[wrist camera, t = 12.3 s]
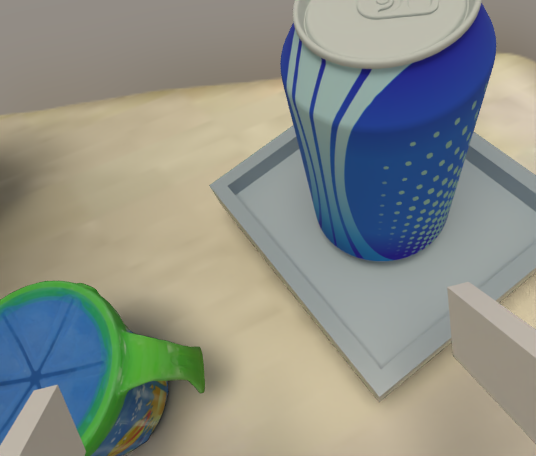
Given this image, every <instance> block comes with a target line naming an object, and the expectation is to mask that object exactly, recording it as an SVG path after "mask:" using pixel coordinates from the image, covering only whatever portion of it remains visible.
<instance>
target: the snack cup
mask: <svg viewBox="0 0 536 456" xmlns="http://www.w3.org/2000/svg"><path fill="white" fill-rule="evenodd" d="M169 380H170V381H172V380H188V381H189V382H190V383H191V384H192V385H193V386H194V387H195V388H196V389H197V390H198V392H200V393H204V388H205V379H204V364H203V355H202V351H201V349H200V347H189V346H183V345H179V344H175V343H172V342H169V341H166V340H159V339H156V338H151V337H147V336H143V335H138V334H134V333H133V332H131V331H130V330H129V329H128V328H127V326H126V325H125V324H124V323H123V321H122V320H121V318H120V316H119V314H118V313H117V311H116V310H115V309H114V308H113V307H112V306H111V304H110V303H108V302H107V301H106V300H105V299H104V298H103V297H101V296H100V294H99V293H98V291H97V290H96V289H95V288H93V287H91V286H88V285H86V284H83V283H77V284H76V283H71V282H65V281H44V282H39V283H36V284H32V285H29V286H26V287H23V288H21V289H19V290H17V291H15V292H12V293H10V294H9V295H7V296H5V297H4V298H2V299H1V300H0V445H1V443H2V442H3V440H4V439H5V437H6V435H7V434H8V432H9V430H10V429H11V427H12V425H13V424H14V422H15V420H16V419H17V417H18V416H19V414H20V412H21V411H22V409H23V407H24V406H25V404H26V402H27V401H28V399H29V398H30V396H31V394H32V393H33V391H34V390H38V389H42V388H46V387H50V386H54V385H58V386H59V389H60V391H61V393H62V396H63V398H64V400H65V403H66V405H67V407H68V410H69V412H70V414H71V417H72V419H73V422H74V424H75V426H76V429H77V431H78V433H79V436H80V438H81V440H82V443H83V445H84V447H85V450H86V453H85V456H121V455H124V454H127V453H129V452H131V451H132V450H134V449H136V448H137V447H138V446H140V445H141V444H143V443H145V442H146V441H147V440H148V439H149V436H150V434H151V433H152V432H153V430H154V429H155V427H156V425H157V424H158V422H159V420H160V417H161V415H162V413H163V410H164V406H165V403H166V398H167V396H168V392H169V391H168V382H167V381H169Z"/></svg>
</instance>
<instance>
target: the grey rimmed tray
mask: <svg viewBox="0 0 536 456" xmlns="http://www.w3.org/2000/svg"><path fill="white" fill-rule="evenodd" d="M209 186H210V187H211V189H212V191H213V192H214V194H215V195H216V197H217V199H218V200H219V202H220V204H221V205H222V206H223V207H224V209H225V210H226V211H227V212H228V214H229V215H230V216H231V217H232V219H233V220H234V221H235V222H236V224H237V225H238V226H239V227H240V229H241V230H242V231H243V232H244V234H245V235H246V236H247V237H248V239H249V240H250V241H251V242H252V244H253V245H254V246H255V247H256V249H257V250H258V251H259V252H260V254H261V255H262V256H263V257H264V259H265V260H266V261H267V262H268V264H269V265H270V266H271V268H272V269H273V270H274V271H275V273H276V274H277V275H278V276H279V278H280V279H281V280H282V281H283V283H284V284H285V285H286V286H287V288H288V289H289V290H290V291H291V293H292V294H293V295H294V296H295V298H296V299H297V300H298V301H299V303H300V304H301V305H302V306H303V308H304V309H305V310H306V311H307V313H308V314H309V315H310V316H311V318H312V319H313V320H314V321H315V323H316V324H317V325H318V326H319V328H320V329H321V330H322V331H323V333H324V334H325V335H326V336H327V338H328V339H329V340H330V341H331V343H332V344H333V345H334V346H335V348H336V349H337V350H338V351H339V353H340V354H341V355H342V356H343V358H344V359H345V360H346V361H347V363H348V364H349V365H350V366H351V368H352V369H353V370H354V371H355V373H356V374H357V375H358V376H359V378H360V379H361V380H362V381H363V383H364V384H365V385H366V386H367V388H368V389H369V390H370V391H371V393H372V394H373V395H374V396H375V398H376V399H377V400H378V401H379V402H380V401H381V400H382V399H384V398H385V397H386V396H387V395H388V394H390V393H391V392H392V391H393V390H394V389H396V388H397V387H398V386H399V385H400V384H402V383H403V382H404V381H405V380H406V379H408V378H409V377H410V376H411V375H413V374H414V373H415V372H416V371H417V370H419V369H420V368H421V367H422V366H423V365H425V364H426V363H427V362H428V361H429V360H431V359H432V358H433V357H434V356H435V355H437V354H438V353H439V352H440V351H441V350H443V349H444V348H445V347H446V346H447V345H449V344H450V343H451V342H452V338H451V326H450V315H449V303H448V292H447V287H449V286H453V285H457V284H461V283H465V282H470V283H471V284H473V285H474V286H475V287H477V288H478V289H480V290H481V291H482V292H484V293H485V294H487V295H488V296H489V297H491V298H492V299H494V300H495V301H496V302H498V303H499V302H501V301H502V300H503V299H504V298H505V297H507V296H508V295H509V294H510V293H511V292H513V291H514V290H515V289H516V288H517V287H519V286H520V285H521V284H522V283H523V282H525V281H526V280H527V279H528V278H529V277H531V276H532V275H533V274H534V273H535V272H536V175H535V174H533V173H532V172H530V171H529V170H527V169H526V168H525V167H523V166H522V165H520V164H519V163H517V162H516V161H515V160H513V159H512V158H510V157H509V156H508V155H506V154H505V153H503V152H502V151H500V150H499V149H498V148H496V147H495V146H493V145H492V144H490V143H489V142H488V141H486V140H485V139H483V138H482V137H481V136H479V135H478V134H476V133H475V132H473V134H472V138H471V141H470V144H469V148H468V151H467V154H466V158H465V161H464V164H463V168H462V171H461V174H460V178H459V181H458V184H457V188H456V191H455V194H454V197H453V201H452V204H451V207H450V211H449V214H448V217H447V220H446V223H445V225H444V227H443V229H442V231H441V232H440V234H439V235H438V236H437V238H436V239H435V240H434V241H433V242H432V243H431V244H430V245H429V246H427V247H426V248H425V249H423V250H422V251H420V252H418V253H416V254H414V255H412V256H410V257H407V258H404V259H400V260H395V261H388V262H376V261H368V260H363V259H359V258H356V257H353V256H351V255H349V254H347V253H345V252H343V251H342V250H340V249H339V248H337V247H336V246H335V245H334V244H333V243H331V242H330V240H329V239H328V238H327V237H326V236H325V234H324V233H323V231H322V230H321V228H320V226H319V223H318V220H317V217H316V213H315V209H314V205H313V201H312V197H311V193H310V189H309V185H308V181H307V177H306V173H305V169H304V165H303V161H302V157H301V153H300V149H299V145H298V141H297V137H296V133H295V129H294V125H293V126H292V127H290V128H289V129H287V130H286V131H285V132H283V133H282V134H280V135H279V136H278V137H276V138H275V139H273V140H272V141H271V142H269V143H268V144H266V145H265V146H264V147H262V148H261V149H259V150H258V151H257V152H255V153H254V154H252V155H251V156H250V157H248V158H247V159H246V160H244V161H243V162H241V163H240V164H239V165H237V166H236V167H234V168H233V169H232V170H230V171H229V172H227V173H226V174H225V175H223V176H222V177H220V178H219V179H218V180H216V181H215V182H213V183H212V184H211V185H209Z"/></svg>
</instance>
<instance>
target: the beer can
mask: <svg viewBox="0 0 536 456" xmlns="http://www.w3.org/2000/svg"><path fill="white" fill-rule="evenodd" d="M481 2H482V0H295V2H294V7H293V24H292V27H291V29H290V31H289V33H288V35H287V38H286V40H285V43H284V45H283V50H282V55H281V76H282V81H283V85H284V89H285V93H286V97H287V101H288V105H289V109H290V113H291V117H292V121H293V125H294V129H295V133H296V137H297V141H298V145H299V149H300V153H301V157H302V161H303V165H304V169H305V173H306V177H307V181H308V185H309V189H310V193H311V197H312V201H313V205H314V209H315V213H316V217H317V220H318V223H319V226H320V228H321V230H322V231H323V233H324V234H325V236H326V237H327V238H328V239H329V240H330V242H331V243H333V244H334V245H335V246H336V247H337V248H339V249H340V250H342V251H343V252H345V253H347V254H349V255H351V256H353V257H356V258H359V259H363V260H368V261H376V262H388V261H395V260H400V259H404V258H407V257H410V256H412V255H414V254H416V253H418V252H420V251H422V250H423V249H425V248H426V247H427V246H429V245H430V244H431V243H432V242H433V241H434V240H435V239H436V238H437V236H438V235H439V234H440V232H441V231H442V229H443V227H444V225H445V223H446V220H447V217H448V214H449V211H450V207H451V204H452V201H453V197H454V194H455V191H456V188H457V184H458V181H459V178H460V174H461V171H462V168H463V164H464V161H465V158H466V154H467V151H468V148H469V144H470V141H471V138H472V134H473V131H474V128H475V125H476V121H477V118H478V115H479V111H480V108H481V105H482V101H483V98H484V95H485V91H486V88H487V85H488V81H489V78H490V75H491V72H492V68H493V65H494V60H495V54H496V37H495V32H494V28H493V25H492V22H491V20H490V18H489V16H488V14H487V12H486V10H485V8H484V6H483V5H482V3H481Z"/></svg>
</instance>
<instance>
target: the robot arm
mask: <svg viewBox="0 0 536 456" xmlns="http://www.w3.org/2000/svg"><path fill="white" fill-rule="evenodd" d="M447 292H448V303H449V315H450V326H451V338H452V349H453V356H454V357H455V358H456V360H457V361H458V362H459V363H460V364H461V365H462V366H463V367H464V368H465V369H466V370H467V371H468V372H469V373H470V374H471V376H472V377H473V378H474V379H475V380H476V381H477V382H478V383H479V384H480V385H481V386H482V387H483V388H484V389H485V390H486V392H487V393H488V394H489V395H490V396H491V397H492V398H493V399H494V400H495V401H496V402H497V403H498V404H499V405H500V407H501V408H502V409H503V410H504V411H505V412H506V413H507V414H508V415H509V416H510V417H511V418H512V419H513V420H514V421H515V423H516V424H517V425H518V426H519V427H520V428H521V429H522V430H523V431H524V432H525V433H526V434H527V435H528V436H529V437H530V439H531V440H532V441H533V442H534V443H535V444H536V329H534V328H533V327H532V326H530V325H529V324H527V323H526V322H525V321H523V320H522V319H520V318H519V317H517V316H516V315H515V314H513V313H512V312H510V311H509V310H508V309H506V308H505V307H503V306H502V305H501V304H499V303H498V302H496V301H495V300H494V299H492V298H491V297H489V296H488V295H487V294H485V293H484V292H482V291H481V290H480V289H478V288H477V287H475V286H474V285H473V284H471V283H470V282H465V283H461V284H457V285H453V286H449V287H447ZM85 453H86V450H85V447H84V445H83V443H82V440H81V438H80V436H79V433H78V431H77V429H76V426H75V424H74V422H73V419H72V417H71V414H70V412H69V410H68V407H67V405H66V403H65V400H64V398H63V396H62V393H61V391H60V389H59V386H58V385H54V386H50V387H46V388H42V389H38V390H34V391H33V393H32V394H31V396H30V398H29V399H28V401H27V402H26V404H25V406H24V407H23V409H22V411H21V412H20V414H19V416H18V417H17V419H16V420H15V422H14V424H13V425H12V427H11V429H10V430H9V432H8V434H7V435H6V437H5V439H4V440H3V442H2V443H1V445H0V456H85Z"/></svg>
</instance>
